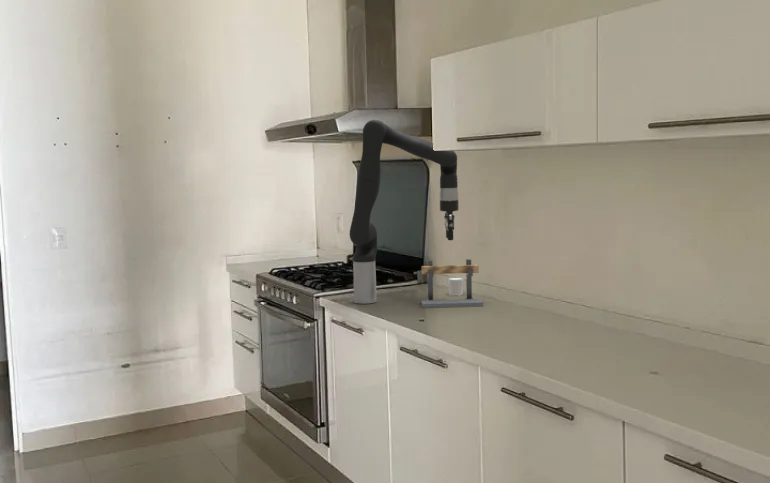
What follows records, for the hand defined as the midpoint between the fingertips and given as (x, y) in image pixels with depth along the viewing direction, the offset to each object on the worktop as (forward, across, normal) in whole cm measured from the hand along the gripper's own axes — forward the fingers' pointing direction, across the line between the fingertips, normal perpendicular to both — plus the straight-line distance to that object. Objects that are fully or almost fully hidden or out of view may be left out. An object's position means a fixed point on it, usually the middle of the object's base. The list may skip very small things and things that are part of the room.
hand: (449, 239), depth 309 cm
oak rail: (+14, 0, 0) cm, 14 cm away
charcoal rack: (+26, -2, 0) cm, 26 cm away
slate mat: (+26, +6, 0) cm, 27 cm away
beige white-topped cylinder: (+26, -18, +4) cm, 32 cm away
